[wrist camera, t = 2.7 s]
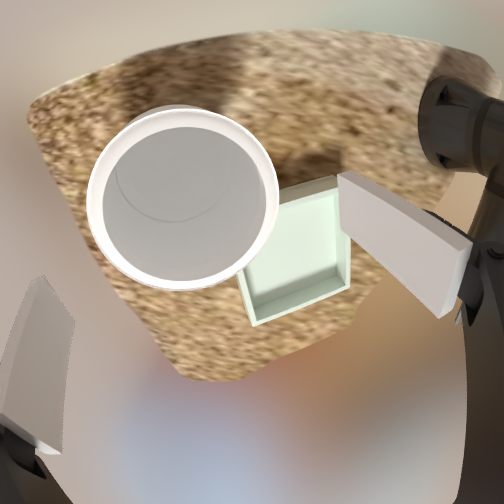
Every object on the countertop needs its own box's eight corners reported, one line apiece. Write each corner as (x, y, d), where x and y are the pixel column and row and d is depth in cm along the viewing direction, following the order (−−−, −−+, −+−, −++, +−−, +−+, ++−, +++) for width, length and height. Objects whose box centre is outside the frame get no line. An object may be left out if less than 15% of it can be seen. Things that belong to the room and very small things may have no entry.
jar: (97, 160, 25) (50, 224, 13) (171, 80, 23) (186, 63, 11) (173, 222, 31) (193, 319, 18) (243, 152, 29) (315, 206, 17)
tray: (332, 174, 34) (348, 184, 31) (337, 273, 42) (349, 287, 39) (215, 209, 31) (222, 223, 29) (244, 309, 40) (252, 326, 37)
